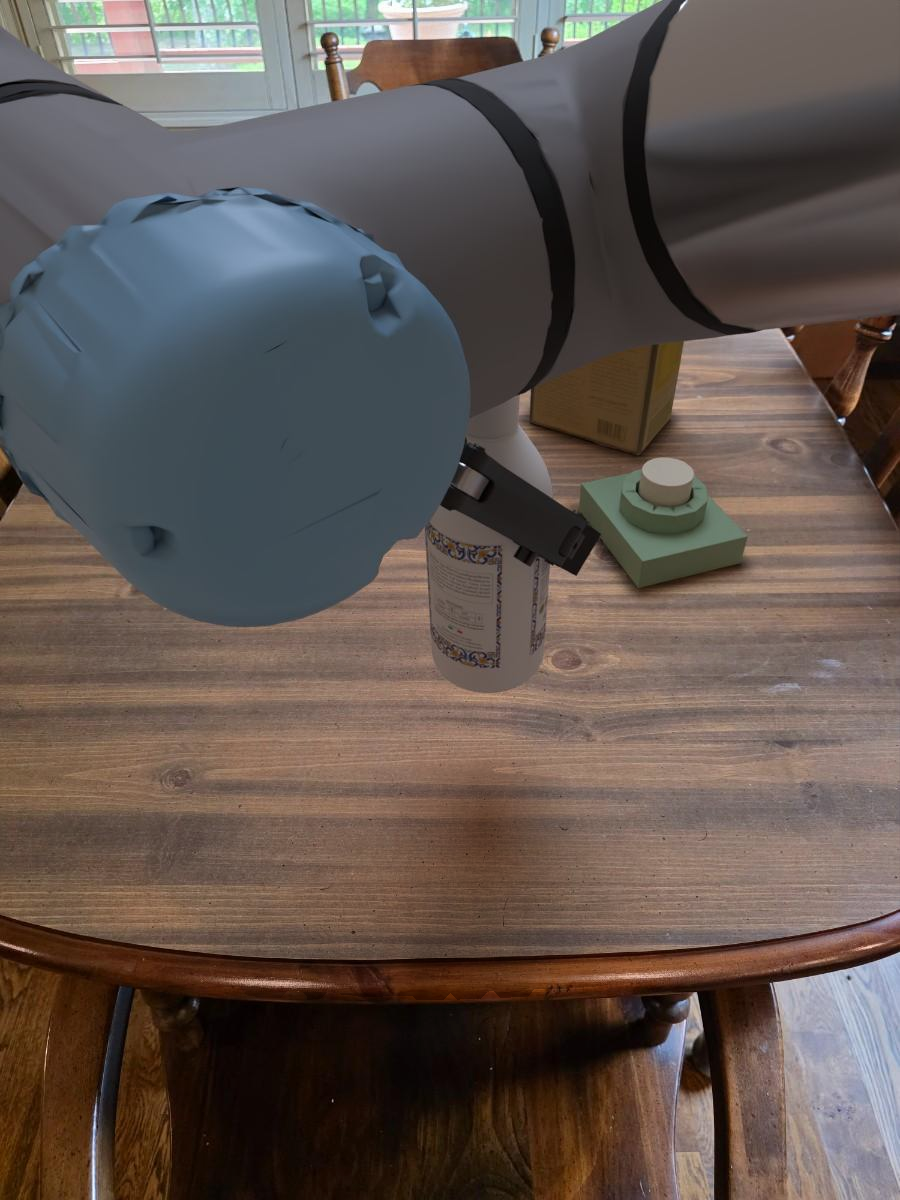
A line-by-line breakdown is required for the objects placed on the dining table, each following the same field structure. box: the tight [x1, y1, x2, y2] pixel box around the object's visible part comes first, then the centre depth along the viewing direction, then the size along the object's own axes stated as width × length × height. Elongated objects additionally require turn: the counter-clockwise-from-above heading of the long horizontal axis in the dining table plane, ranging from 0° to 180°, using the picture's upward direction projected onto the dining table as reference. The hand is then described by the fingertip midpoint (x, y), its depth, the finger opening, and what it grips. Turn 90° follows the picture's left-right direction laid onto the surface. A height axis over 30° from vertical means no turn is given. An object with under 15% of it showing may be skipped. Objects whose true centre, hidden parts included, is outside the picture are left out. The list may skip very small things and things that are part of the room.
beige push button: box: [639, 456, 695, 507], centre depth 75 cm, size 4×4×2 cm
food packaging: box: [528, 341, 685, 456], centre depth 85 cm, size 13×9×25 cm
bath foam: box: [424, 394, 554, 694], centre depth 47 cm, size 7×7×20 cm
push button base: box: [578, 468, 749, 589], centre depth 77 cm, size 12×10×5 cm
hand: (531, 522), depth 50 cm, fingers closed on bath foam, 7 cm apart
